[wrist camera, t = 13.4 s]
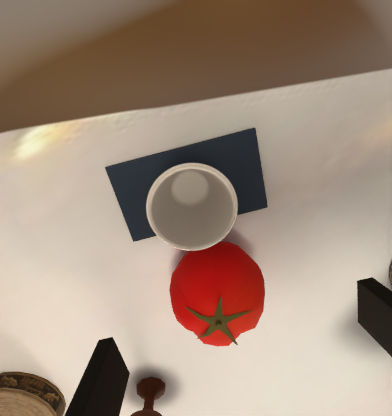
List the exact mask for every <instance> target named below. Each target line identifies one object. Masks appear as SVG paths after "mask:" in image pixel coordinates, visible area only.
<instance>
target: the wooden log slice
mask: <svg viewBox="0 0 392 416" xmlns="http://www.w3.org/2000/svg"><path fill="white" fill-rule="evenodd" d="M65 406H66V404H65V400H64V396H63V395H62V393H61V392H60V391H59V389H58V388H57V387H56V386H54V385H53V384H52V383H50V382H49V381H47V380H45V379H43V378H40V377H38V376H35V375H33V374H27V373H21V372H9V373H1V374H0V416H63V414H64V410H65Z"/></svg>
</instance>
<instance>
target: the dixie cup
mask: <svg viewBox="0 0 392 416" xmlns="http://www.w3.org/2000/svg"><path fill="white" fill-rule="evenodd" d="M237 211H238V202H237V196H236V193H235V190H234V188H233V186H232V184H231V183H230V181H229V180H228V179H227V178H226V177H225V176H224V175H223V174H222V173H221V172H220V171H218V170H217V169H215V168H213V167H211V166H208V165H205V164H200V163H184V164H180V165H177V166H174V167H172V168H170V169H168V170H166V171H165V172H164V173H162V174H161V175H160V176H159V177H158V178H157V179H156V181H155V182H154V183H153V185H152V187H151V189H150V191H149V193H148V197H147V202H146V212H147V218H148V221H149V224H150V226H151V228H152V229H153V231H154V232H155V234H156V235H157V236H158V237H159V238H160V239H161V240H162V241H164V242H165V243H167V244H168V245H170V246H172V247H175V248H177V249H181V250H188V251H195V250H202V249H206V248H209V247H211V246H213V245H215V244H217V243H218V242H220V241H221V240H222V239H223V238H224V237H225V236H226V235H227V234H228V233H229V231H230V230H231V228H232V227H233V225H234V223H235V220H236V216H237Z"/></svg>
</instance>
